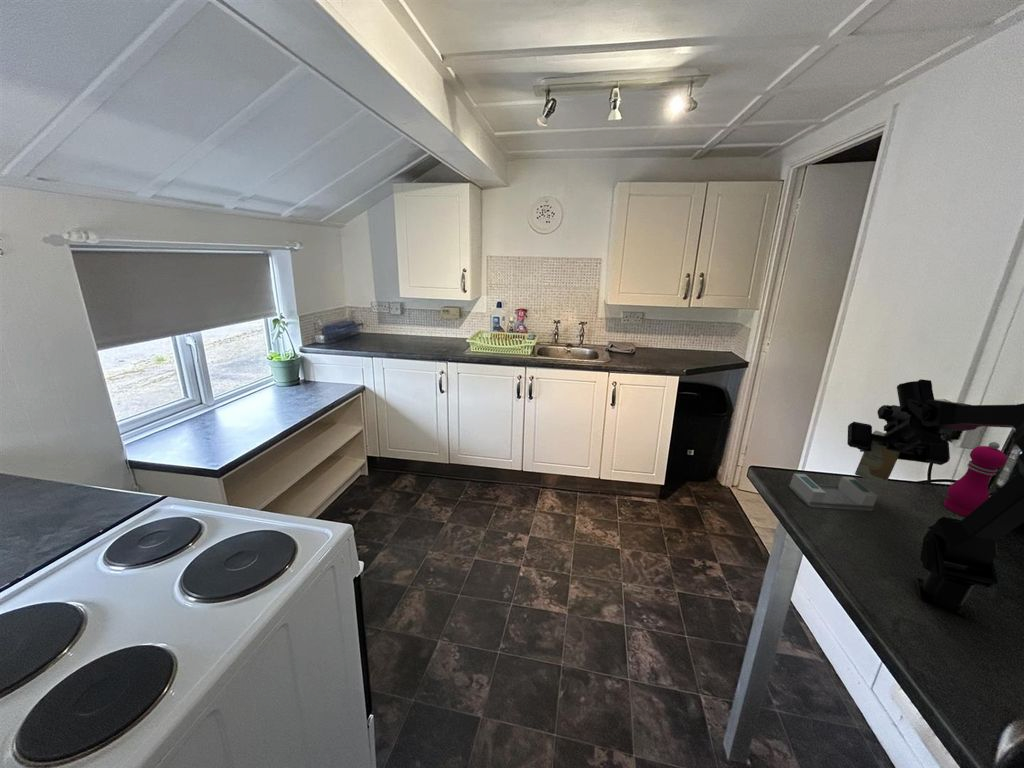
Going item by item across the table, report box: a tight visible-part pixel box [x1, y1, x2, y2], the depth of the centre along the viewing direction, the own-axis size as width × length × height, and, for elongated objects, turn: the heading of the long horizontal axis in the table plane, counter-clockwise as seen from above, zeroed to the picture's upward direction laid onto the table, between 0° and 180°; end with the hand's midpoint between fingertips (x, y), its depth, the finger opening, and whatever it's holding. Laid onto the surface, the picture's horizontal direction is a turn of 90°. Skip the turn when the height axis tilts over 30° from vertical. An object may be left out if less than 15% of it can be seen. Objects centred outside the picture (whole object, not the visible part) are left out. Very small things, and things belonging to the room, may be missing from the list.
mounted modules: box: [789, 472, 878, 507], centre depth 108 cm, size 16×8×4 cm, turn 88°
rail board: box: [788, 481, 875, 512], centre depth 109 cm, size 16×9×1 cm, turn 88°
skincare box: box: [854, 430, 901, 486], centre depth 106 cm, size 6×4×12 cm
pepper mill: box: [943, 441, 1008, 517], centre depth 104 cm, size 7×7×20 cm
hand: (878, 453), depth 107 cm, fingers closed on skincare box, 7 cm apart
